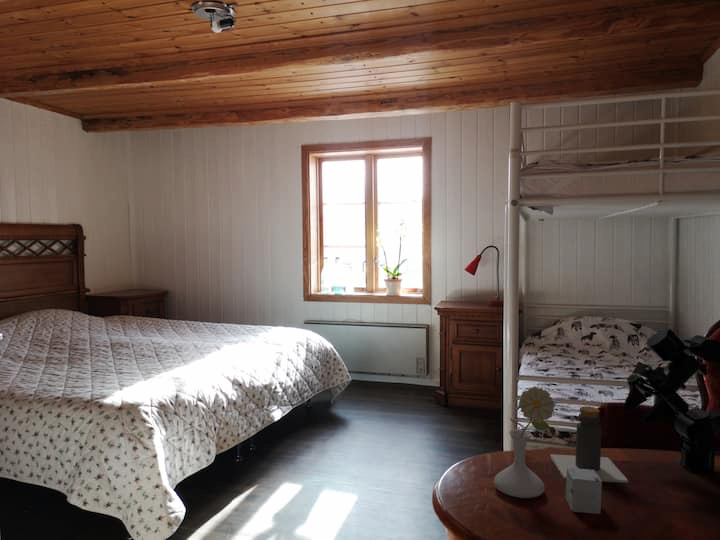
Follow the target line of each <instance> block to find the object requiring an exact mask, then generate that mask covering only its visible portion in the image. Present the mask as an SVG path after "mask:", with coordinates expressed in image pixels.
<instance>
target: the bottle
mask: <svg viewBox="0 0 720 540" xmlns="http://www.w3.org/2000/svg"><path fill="white" fill-rule="evenodd" d="M599 415H600V409H598V408H597V407H594V406H580V407H579V414H578V420H579V421H580V422H577V424H576V434H575V435H576V436H575V437H576V439H575V456H576V466H577V467H578V468H580V469H589V470H594V471H598V470H599V469H600V458H601V457H602V456H601V455H602V454H601V453H602V452H601V451H602V426H601V425H599V423H600V422H601V417H600V416H599Z"/></svg>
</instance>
